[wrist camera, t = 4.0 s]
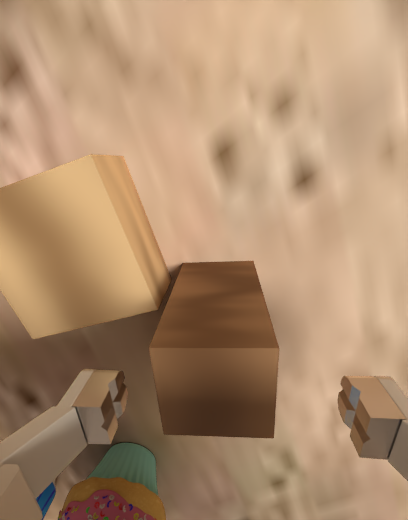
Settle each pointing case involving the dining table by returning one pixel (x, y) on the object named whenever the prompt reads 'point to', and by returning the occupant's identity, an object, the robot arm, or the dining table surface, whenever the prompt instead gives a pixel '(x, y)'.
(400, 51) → the dining table surface
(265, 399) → the walnut block
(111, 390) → the robot arm
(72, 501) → the cupcake
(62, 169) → the oak block
